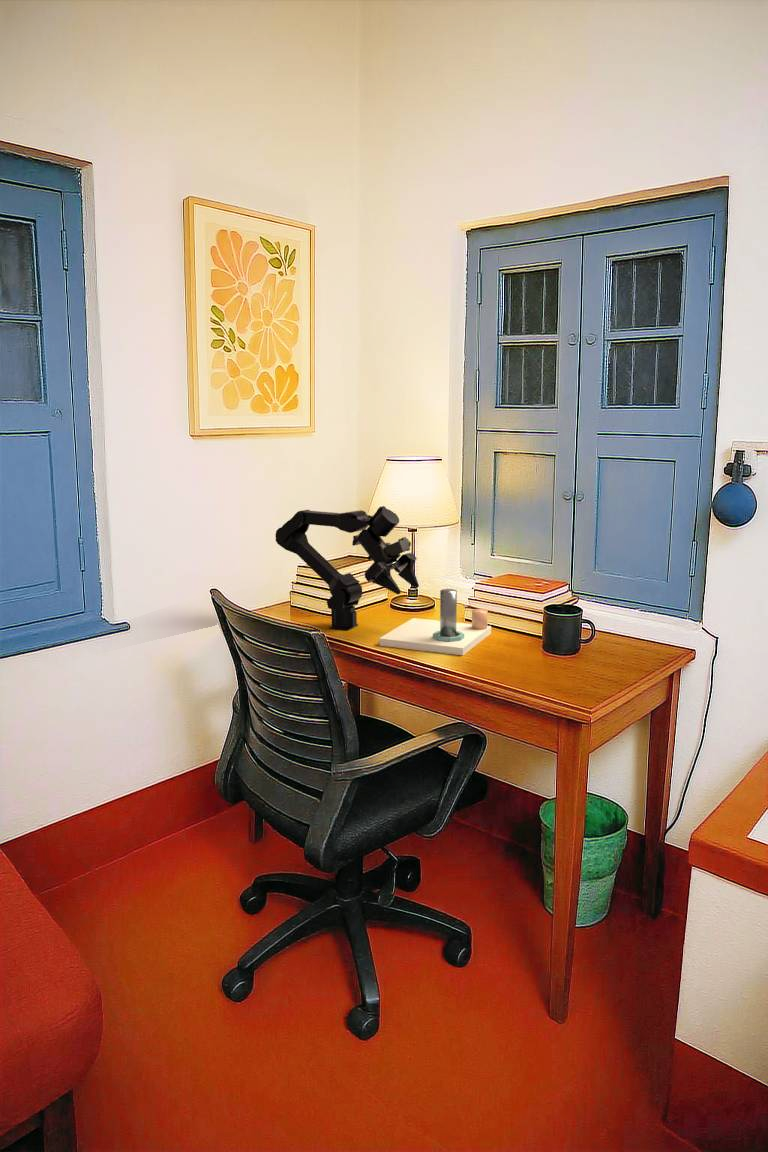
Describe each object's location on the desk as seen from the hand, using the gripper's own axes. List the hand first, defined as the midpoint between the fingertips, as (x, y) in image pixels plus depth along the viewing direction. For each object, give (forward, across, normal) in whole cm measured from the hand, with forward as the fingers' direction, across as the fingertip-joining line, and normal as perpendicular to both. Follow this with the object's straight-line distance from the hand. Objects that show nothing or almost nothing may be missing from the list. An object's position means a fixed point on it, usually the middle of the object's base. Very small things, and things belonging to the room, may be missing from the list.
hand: (408, 590), depth 243 cm
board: (+15, +3, +4) cm, 16 cm away
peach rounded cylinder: (+19, +14, -2) cm, 23 cm away
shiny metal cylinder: (+17, 0, -1) cm, 17 cm away
